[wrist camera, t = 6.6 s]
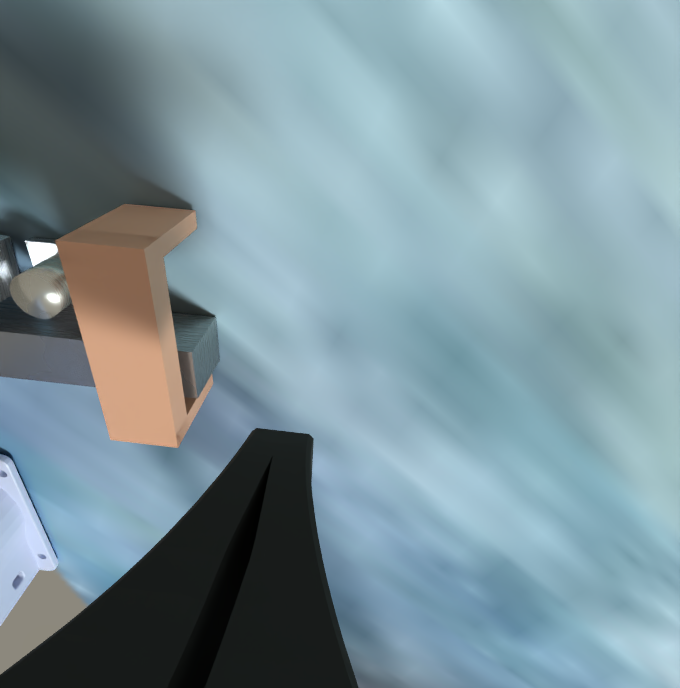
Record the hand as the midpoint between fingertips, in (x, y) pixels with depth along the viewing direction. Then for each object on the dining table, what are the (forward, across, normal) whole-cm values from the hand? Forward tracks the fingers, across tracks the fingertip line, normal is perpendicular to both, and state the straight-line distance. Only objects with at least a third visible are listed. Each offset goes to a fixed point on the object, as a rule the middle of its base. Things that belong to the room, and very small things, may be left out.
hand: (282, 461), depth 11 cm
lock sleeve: (+7, +6, 0) cm, 9 cm away
